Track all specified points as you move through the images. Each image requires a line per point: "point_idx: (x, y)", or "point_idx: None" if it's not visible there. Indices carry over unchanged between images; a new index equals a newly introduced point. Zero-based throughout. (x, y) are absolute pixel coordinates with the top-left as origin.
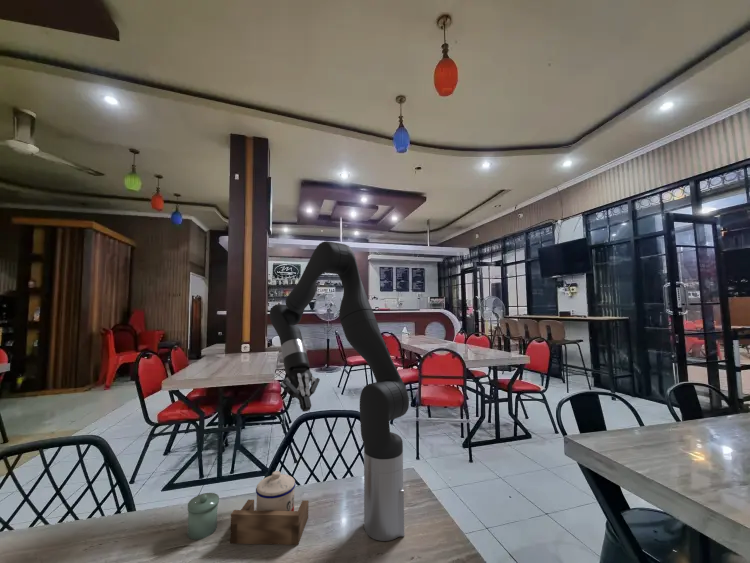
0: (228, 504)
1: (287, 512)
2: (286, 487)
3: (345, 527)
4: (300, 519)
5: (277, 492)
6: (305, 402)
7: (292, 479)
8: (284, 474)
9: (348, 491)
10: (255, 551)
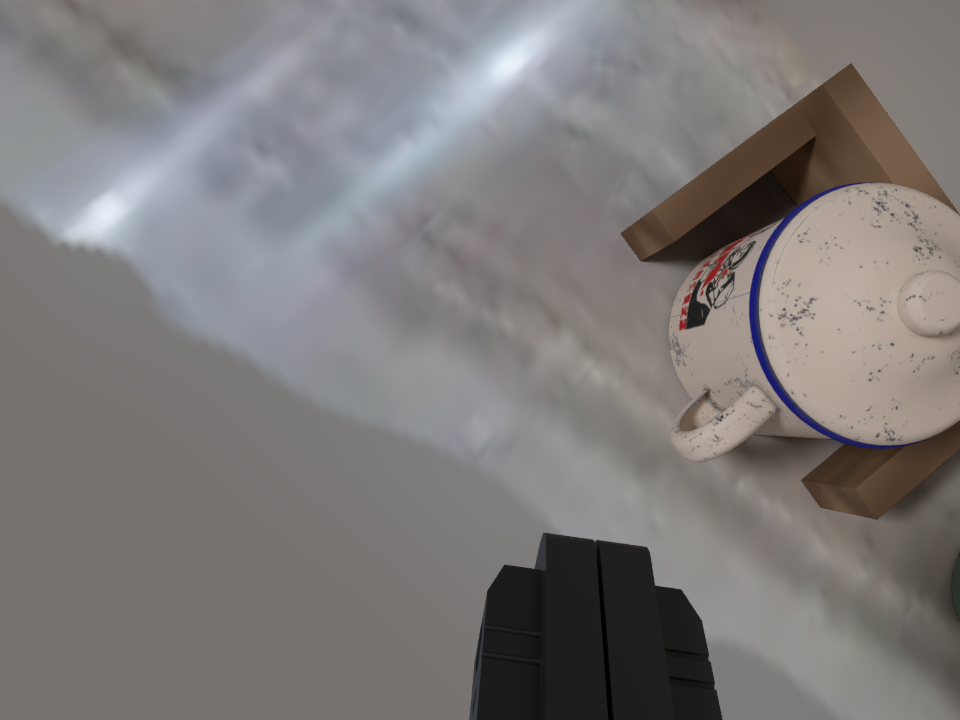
0: (836, 708)
1: (873, 137)
2: (883, 197)
3: (547, 18)
4: (788, 111)
5: (943, 206)
6: (652, 643)
7: (798, 248)
8: (794, 358)
9: (284, 227)
10: None
